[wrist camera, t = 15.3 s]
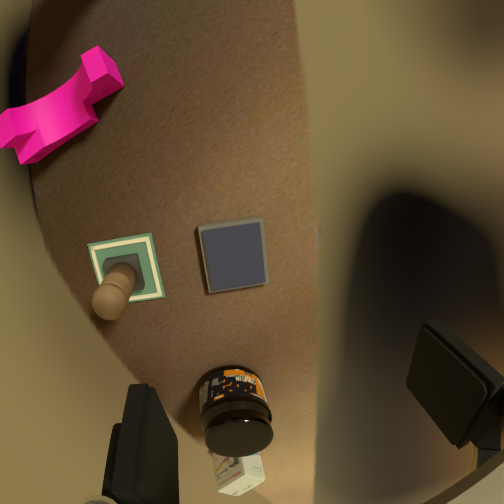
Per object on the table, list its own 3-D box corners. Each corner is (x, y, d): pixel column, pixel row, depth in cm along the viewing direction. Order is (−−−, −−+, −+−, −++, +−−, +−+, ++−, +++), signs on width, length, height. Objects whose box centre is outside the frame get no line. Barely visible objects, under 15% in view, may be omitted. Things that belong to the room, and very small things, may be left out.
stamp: (106, 257, 36) (79, 293, 27) (137, 252, 37) (118, 288, 27) (114, 288, 38) (93, 331, 28) (145, 284, 39) (131, 327, 29)
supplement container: (273, 374, 48) (292, 428, 36) (239, 412, 50) (249, 464, 38) (218, 352, 44) (226, 410, 33) (186, 393, 46) (188, 450, 35)
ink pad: (197, 225, 38) (197, 228, 36) (261, 215, 39) (263, 218, 37) (208, 289, 41) (209, 294, 39) (267, 280, 42) (269, 285, 40)
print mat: (88, 243, 36) (86, 245, 35) (151, 232, 37) (150, 233, 36) (105, 304, 39) (104, 306, 38) (165, 296, 40) (165, 298, 39)
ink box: (231, 452, 54) (238, 497, 43) (210, 446, 52) (215, 493, 41) (256, 432, 52) (268, 480, 41) (235, 425, 51) (244, 475, 40)
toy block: (37, 162, 31) (7, 167, 24) (23, 123, 29) (-8, 122, 22) (131, 103, 31) (115, 92, 24) (115, 63, 29) (97, 45, 22)
